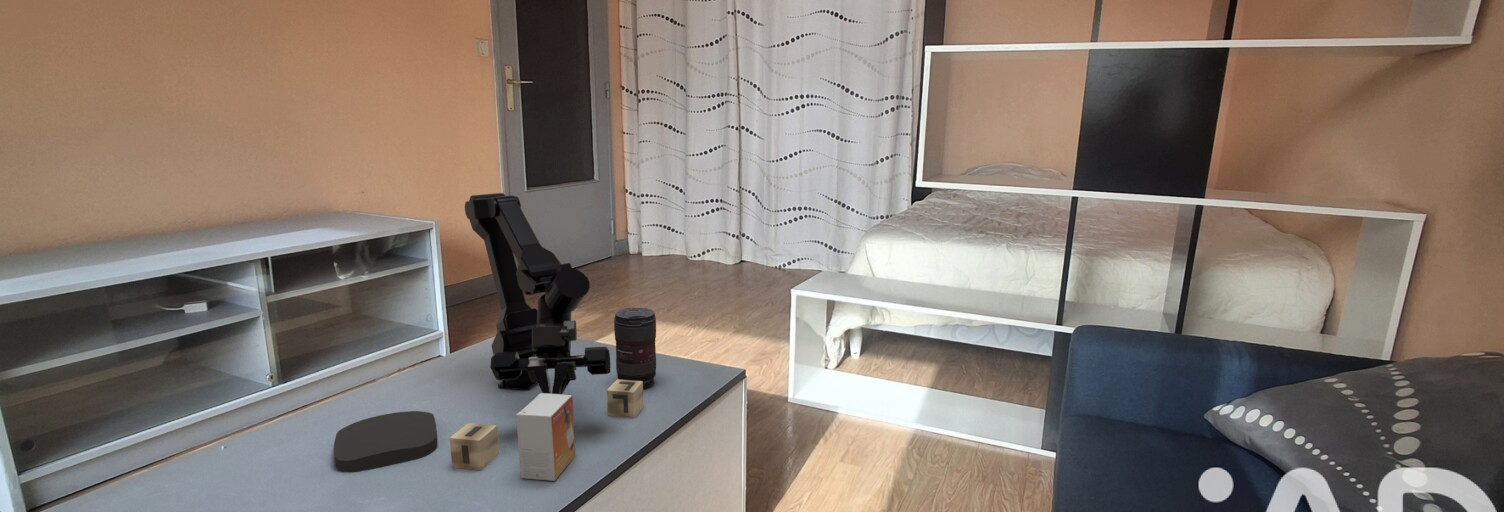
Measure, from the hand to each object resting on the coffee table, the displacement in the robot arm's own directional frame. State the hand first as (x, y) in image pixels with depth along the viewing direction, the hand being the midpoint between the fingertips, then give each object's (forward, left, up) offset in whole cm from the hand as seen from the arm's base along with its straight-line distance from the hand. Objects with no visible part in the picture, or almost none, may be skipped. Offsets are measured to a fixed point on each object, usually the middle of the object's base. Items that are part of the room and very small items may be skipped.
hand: (550, 412), depth 109 cm
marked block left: (-10, -5, -7) cm, 13 cm away
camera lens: (+5, +28, -7) cm, 29 cm away
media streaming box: (-27, -3, -7) cm, 29 cm away
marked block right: (+7, +16, -7) cm, 18 cm away
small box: (+2, -5, -7) cm, 9 cm away
